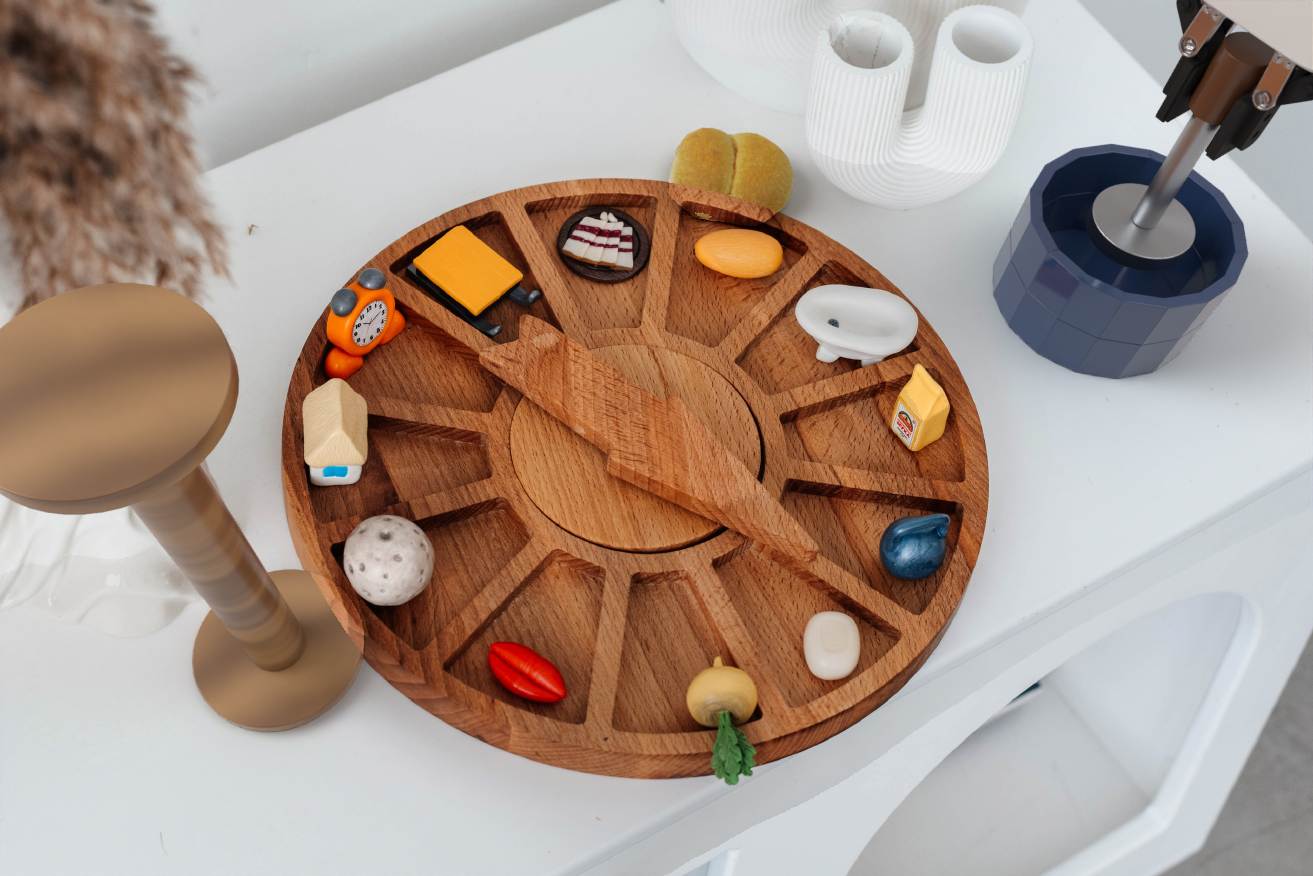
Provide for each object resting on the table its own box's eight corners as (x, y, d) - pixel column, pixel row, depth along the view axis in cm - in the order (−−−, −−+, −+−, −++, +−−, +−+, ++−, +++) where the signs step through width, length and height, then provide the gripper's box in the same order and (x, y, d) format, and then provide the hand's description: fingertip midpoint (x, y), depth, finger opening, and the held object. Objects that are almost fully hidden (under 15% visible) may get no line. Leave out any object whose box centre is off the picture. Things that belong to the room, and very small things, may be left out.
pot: (1227, 323, 75) (1291, 245, 68) (1094, 415, 70) (1148, 342, 63) (1082, 200, 80) (1128, 117, 73) (950, 278, 75) (986, 197, 68)
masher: (1207, 244, 68) (1338, 61, 56) (1141, 287, 66) (1262, 105, 54) (1130, 182, 71) (1240, -5, 59) (1064, 221, 68) (1164, 35, 57)
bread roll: (786, 239, 76) (795, 199, 73) (661, 222, 77) (664, 181, 73) (794, 156, 81) (803, 115, 77) (675, 140, 81) (679, 98, 77)
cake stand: (394, 670, 59) (275, 415, 37) (239, 766, 56) (6, 551, 34) (319, 546, 62) (169, 245, 40) (169, 630, 59) (-83, 354, 37)
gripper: (1635, -137, 44) (1359, 192, 59) (1302, -308, 50) (1133, 28, 66) (1536, -81, 41) (1275, 248, 57) (1200, -269, 48) (1049, 72, 63)
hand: (1201, 127), depth 61 cm, fingers closed on masher, 2 cm apart
